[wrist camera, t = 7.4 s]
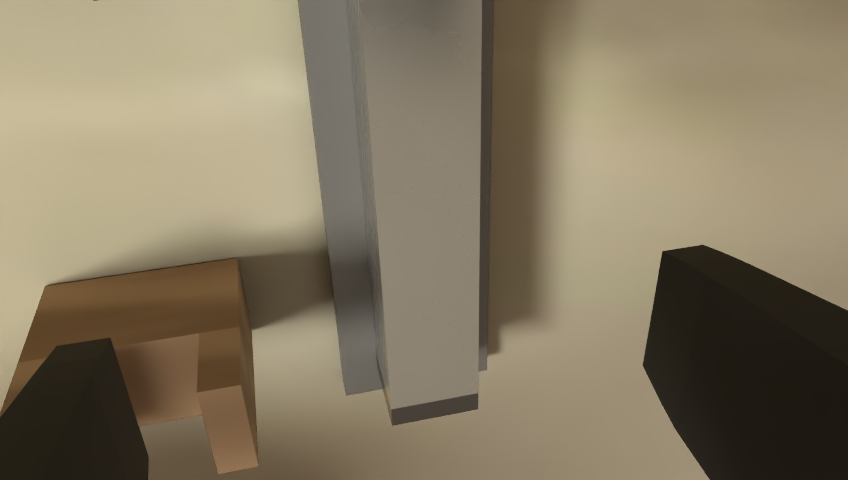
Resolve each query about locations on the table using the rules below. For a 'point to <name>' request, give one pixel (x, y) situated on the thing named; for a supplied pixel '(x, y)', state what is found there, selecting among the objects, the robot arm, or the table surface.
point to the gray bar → (344, 191)
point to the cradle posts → (164, 347)
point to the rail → (421, 195)
